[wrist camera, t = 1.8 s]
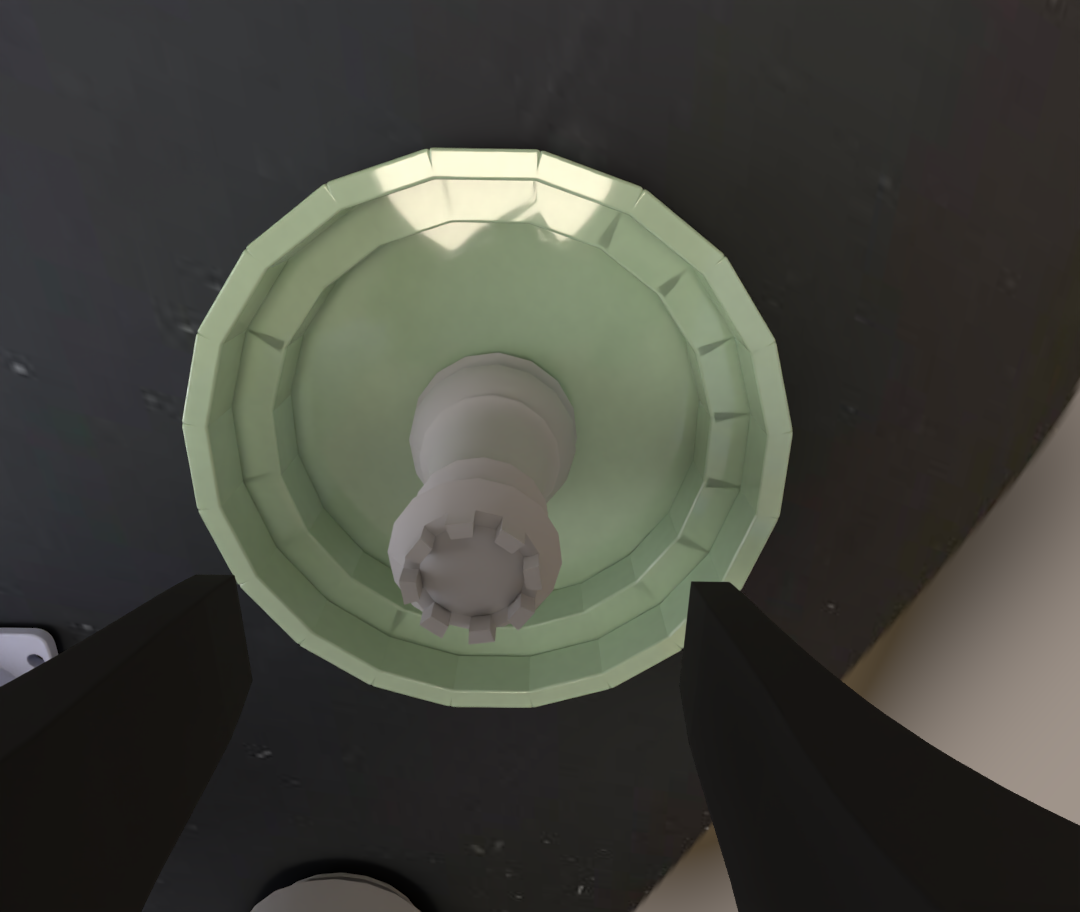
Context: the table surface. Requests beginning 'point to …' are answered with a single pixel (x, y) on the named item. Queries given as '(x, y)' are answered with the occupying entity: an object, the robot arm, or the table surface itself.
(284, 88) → the table surface
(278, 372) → the dish
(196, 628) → the robot arm
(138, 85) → the table surface
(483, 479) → the rook chess piece
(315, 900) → the can
